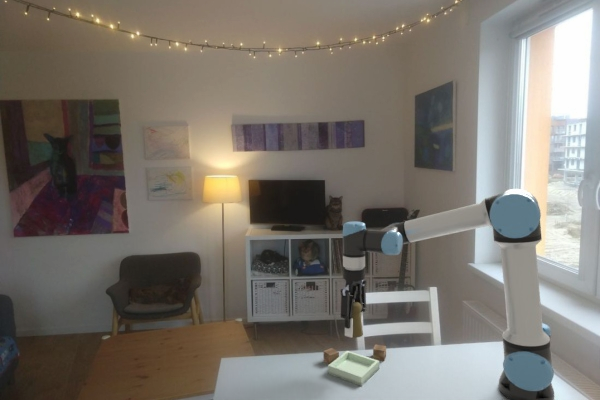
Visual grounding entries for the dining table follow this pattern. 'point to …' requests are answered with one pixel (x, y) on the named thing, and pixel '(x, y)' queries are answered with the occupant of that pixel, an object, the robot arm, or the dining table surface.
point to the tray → (353, 367)
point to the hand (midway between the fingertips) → (353, 332)
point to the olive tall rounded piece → (357, 320)
